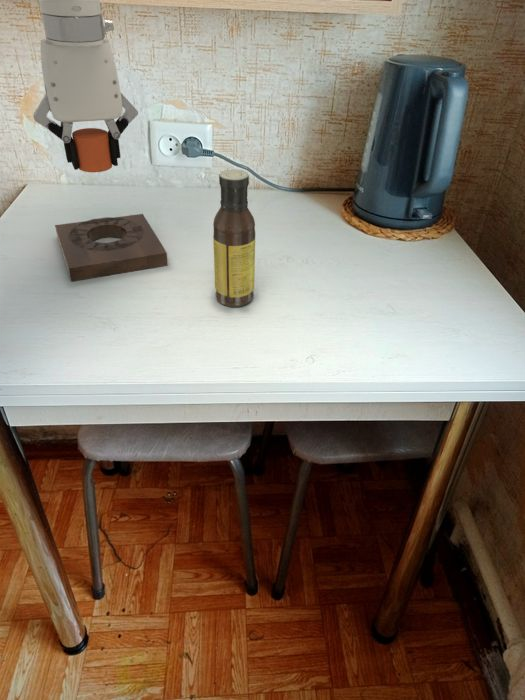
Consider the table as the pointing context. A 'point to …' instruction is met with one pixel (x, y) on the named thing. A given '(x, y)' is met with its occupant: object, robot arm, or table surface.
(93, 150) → the orange cylinder
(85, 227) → the back board
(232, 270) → the sauce bottle
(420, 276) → the table surface
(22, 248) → the table surface
